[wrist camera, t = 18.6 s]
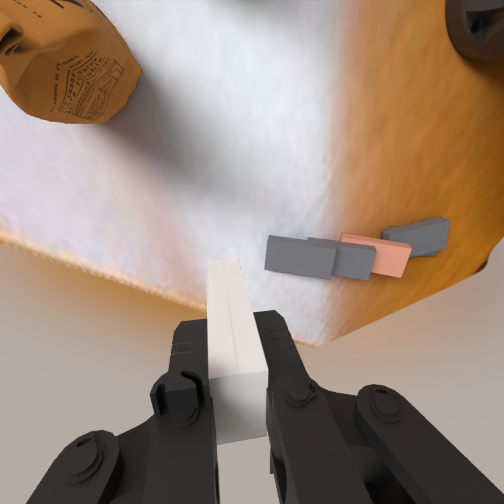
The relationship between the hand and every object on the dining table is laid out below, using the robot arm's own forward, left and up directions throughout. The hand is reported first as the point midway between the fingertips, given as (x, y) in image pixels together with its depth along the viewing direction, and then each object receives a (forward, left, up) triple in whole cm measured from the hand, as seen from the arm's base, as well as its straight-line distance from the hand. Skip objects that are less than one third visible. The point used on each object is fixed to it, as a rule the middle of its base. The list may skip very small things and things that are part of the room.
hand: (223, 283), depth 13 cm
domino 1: (-8, +11, -26) cm, 29 cm away
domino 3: (-20, +11, -26) cm, 34 cm away
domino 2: (-14, +12, -26) cm, 31 cm away
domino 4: (-27, +11, -24) cm, 38 cm away
